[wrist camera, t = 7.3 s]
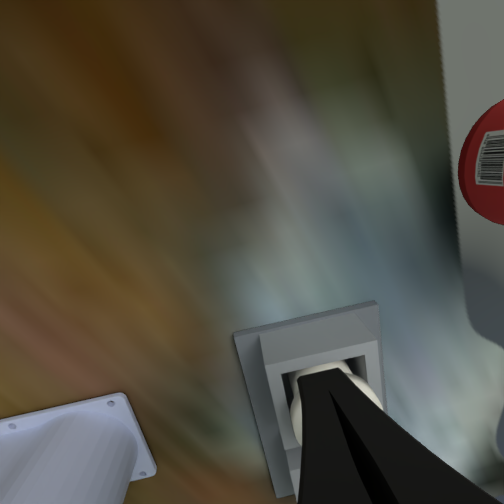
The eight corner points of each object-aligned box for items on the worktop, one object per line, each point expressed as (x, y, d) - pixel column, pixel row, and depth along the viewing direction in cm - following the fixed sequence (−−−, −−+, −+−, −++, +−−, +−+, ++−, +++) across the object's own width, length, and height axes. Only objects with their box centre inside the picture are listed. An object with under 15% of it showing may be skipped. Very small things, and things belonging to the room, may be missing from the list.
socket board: (275, 490, 25) (283, 546, 21) (233, 332, 20) (234, 369, 16) (388, 464, 25) (416, 515, 21) (373, 300, 20) (405, 330, 16)
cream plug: (286, 404, 21) (301, 466, 16) (274, 346, 19) (286, 397, 15) (354, 389, 21) (386, 446, 17) (347, 329, 19) (380, 375, 15)
